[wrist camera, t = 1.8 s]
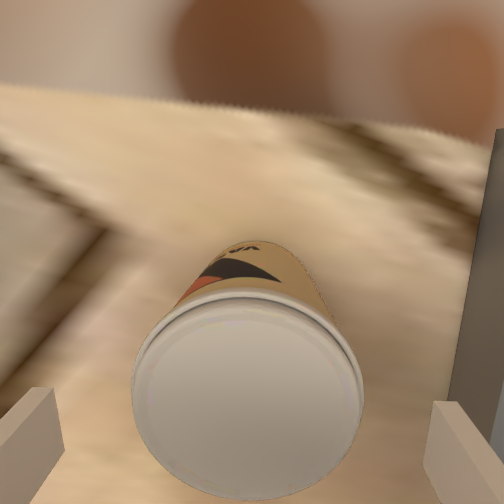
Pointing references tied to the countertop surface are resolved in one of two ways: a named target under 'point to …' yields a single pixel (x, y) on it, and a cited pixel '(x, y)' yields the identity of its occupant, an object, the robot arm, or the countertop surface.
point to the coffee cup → (248, 380)
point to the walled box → (485, 317)
